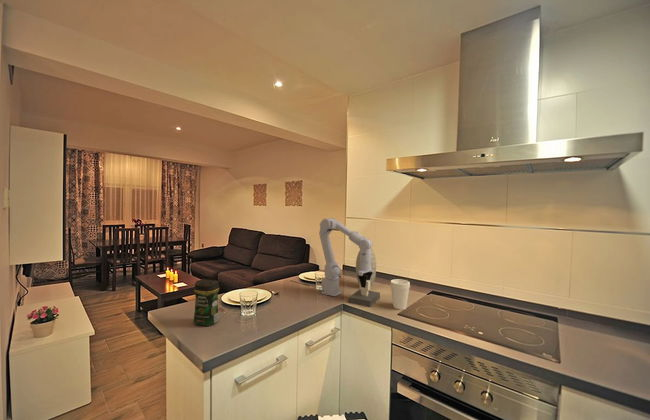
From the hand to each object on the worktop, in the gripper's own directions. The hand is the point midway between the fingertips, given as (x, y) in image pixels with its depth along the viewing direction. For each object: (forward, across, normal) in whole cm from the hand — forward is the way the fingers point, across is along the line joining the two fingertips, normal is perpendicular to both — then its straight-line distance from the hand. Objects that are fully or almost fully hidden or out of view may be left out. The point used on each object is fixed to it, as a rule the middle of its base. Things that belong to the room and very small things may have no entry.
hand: (365, 286), depth 146 cm
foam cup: (+8, 0, -19) cm, 21 cm away
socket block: (+8, 0, 0) cm, 8 cm away
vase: (+8, +22, +8) cm, 25 cm away
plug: (+5, 0, 0) cm, 5 cm away
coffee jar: (+8, -63, +48) cm, 80 cm away
